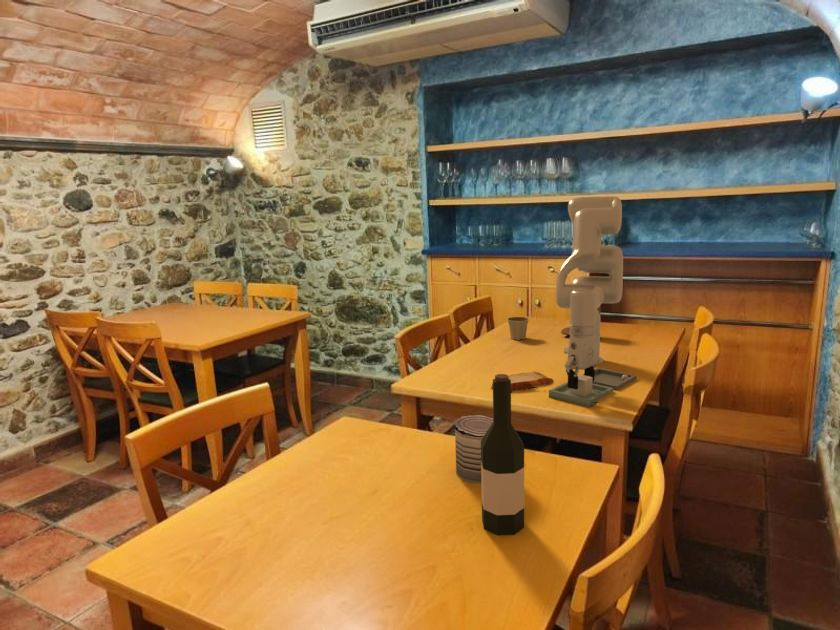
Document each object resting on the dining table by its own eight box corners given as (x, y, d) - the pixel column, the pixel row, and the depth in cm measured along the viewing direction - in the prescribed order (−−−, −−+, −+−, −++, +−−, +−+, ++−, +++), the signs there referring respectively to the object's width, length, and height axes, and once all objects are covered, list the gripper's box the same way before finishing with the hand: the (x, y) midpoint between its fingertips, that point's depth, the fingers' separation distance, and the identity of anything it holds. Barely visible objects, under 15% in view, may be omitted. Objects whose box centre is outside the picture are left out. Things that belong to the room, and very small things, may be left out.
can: (467, 457, 144) (466, 410, 142) (511, 465, 139) (511, 417, 136) (447, 477, 134) (445, 428, 132) (494, 487, 129) (494, 436, 126)
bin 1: (548, 397, 183) (548, 390, 182) (572, 385, 192) (572, 379, 192) (590, 407, 173) (590, 400, 173) (613, 394, 183) (613, 388, 182)
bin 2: (575, 384, 194) (576, 376, 193) (597, 373, 203) (597, 366, 203) (616, 393, 184) (616, 384, 184) (636, 381, 194) (636, 374, 193)
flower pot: (507, 335, 260) (506, 316, 258) (528, 335, 259) (528, 316, 257) (507, 341, 251) (507, 321, 249) (529, 341, 250) (529, 321, 248)
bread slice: (487, 391, 191) (486, 380, 190) (505, 375, 206) (505, 365, 206) (541, 398, 183) (542, 387, 182) (556, 381, 198) (556, 370, 198)
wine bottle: (495, 540, 110) (493, 386, 103) (473, 518, 117) (470, 373, 111) (533, 529, 113) (533, 378, 107) (509, 508, 120) (509, 366, 114)
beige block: (570, 392, 183) (570, 377, 182) (577, 389, 186) (578, 374, 185) (584, 396, 179) (585, 380, 178) (592, 392, 182) (592, 377, 181)
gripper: (578, 337, 170) (577, 394, 173) (607, 326, 182) (606, 379, 185) (555, 333, 175) (555, 389, 179) (585, 323, 187) (584, 375, 191)
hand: (581, 384), depth 182 cm, fingers open, 9 cm apart
